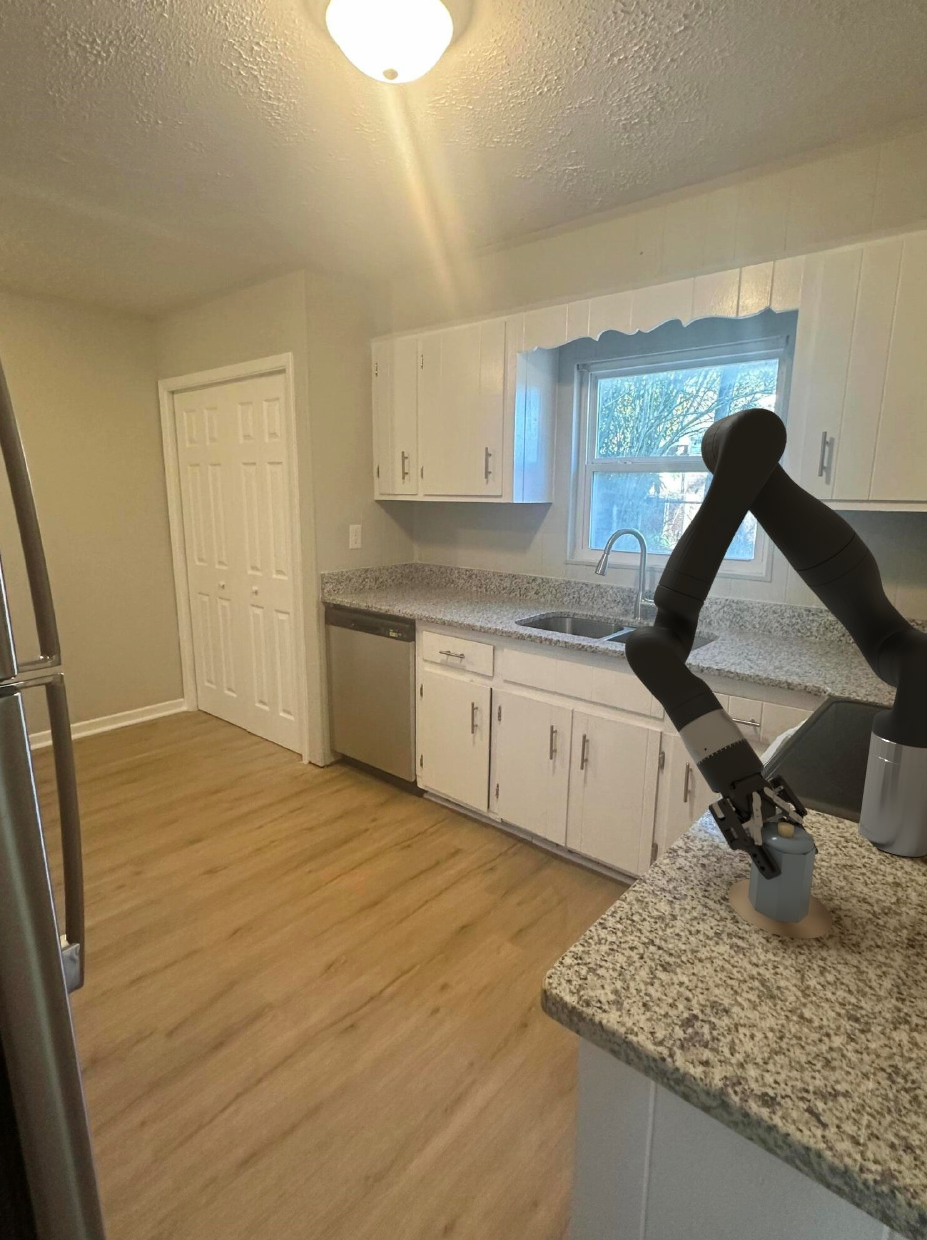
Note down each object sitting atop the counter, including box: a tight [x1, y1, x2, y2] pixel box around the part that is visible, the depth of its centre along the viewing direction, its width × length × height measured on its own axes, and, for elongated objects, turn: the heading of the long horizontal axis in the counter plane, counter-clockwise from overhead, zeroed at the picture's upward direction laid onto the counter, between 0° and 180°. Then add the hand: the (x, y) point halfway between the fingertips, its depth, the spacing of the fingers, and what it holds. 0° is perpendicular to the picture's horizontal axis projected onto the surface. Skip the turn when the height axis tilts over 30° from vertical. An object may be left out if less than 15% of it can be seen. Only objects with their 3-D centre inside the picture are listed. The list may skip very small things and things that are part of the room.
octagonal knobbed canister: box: [748, 822, 816, 923], centre depth 79 cm, size 6×6×11 cm
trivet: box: [727, 878, 833, 940], centre depth 80 cm, size 12×12×1 cm
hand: (793, 866), depth 78 cm, fingers open, 8 cm apart
